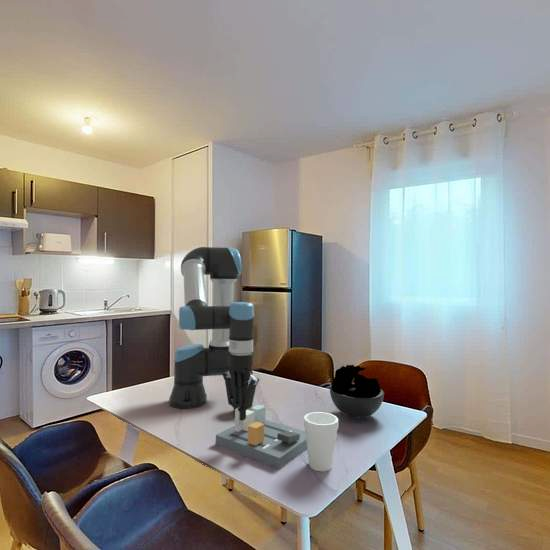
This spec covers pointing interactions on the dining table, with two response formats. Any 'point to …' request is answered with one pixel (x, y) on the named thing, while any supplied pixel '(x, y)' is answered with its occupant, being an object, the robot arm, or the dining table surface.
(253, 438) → the slider orange
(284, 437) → the block
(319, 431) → the foam cup
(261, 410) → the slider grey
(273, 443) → the panel
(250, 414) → the slider cream
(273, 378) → the dining table surface
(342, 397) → the bowl of black rocks
